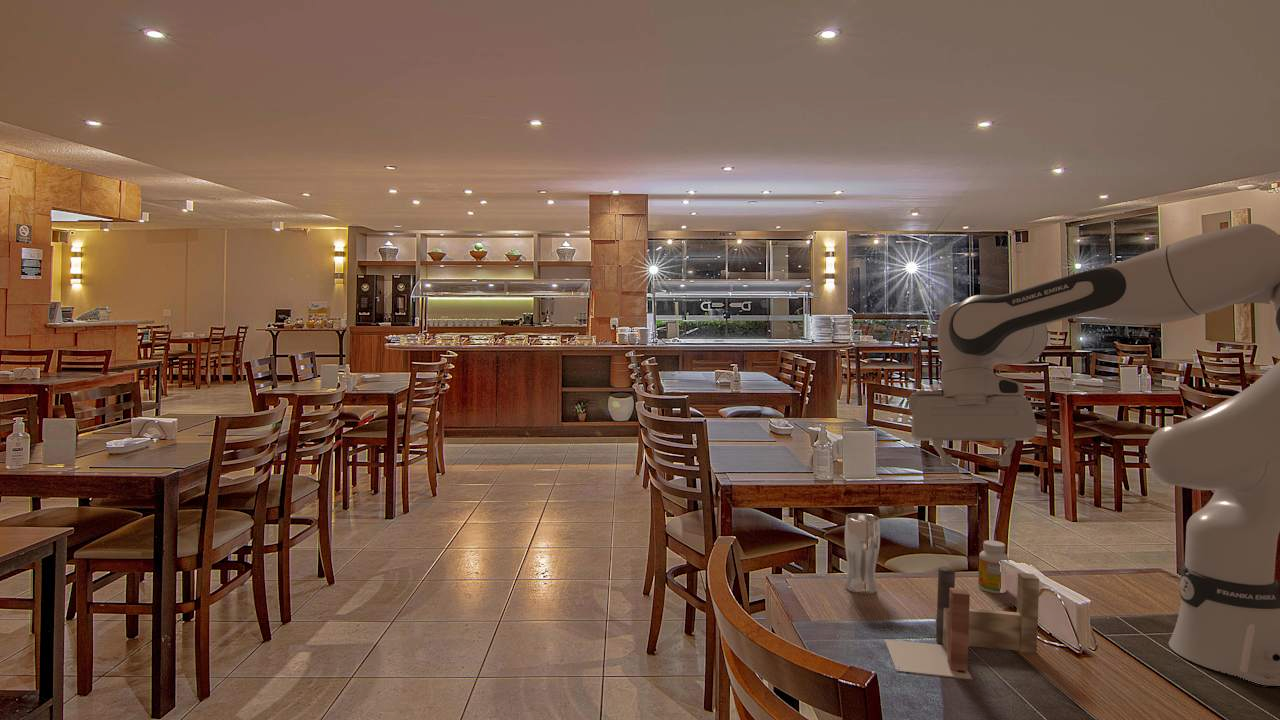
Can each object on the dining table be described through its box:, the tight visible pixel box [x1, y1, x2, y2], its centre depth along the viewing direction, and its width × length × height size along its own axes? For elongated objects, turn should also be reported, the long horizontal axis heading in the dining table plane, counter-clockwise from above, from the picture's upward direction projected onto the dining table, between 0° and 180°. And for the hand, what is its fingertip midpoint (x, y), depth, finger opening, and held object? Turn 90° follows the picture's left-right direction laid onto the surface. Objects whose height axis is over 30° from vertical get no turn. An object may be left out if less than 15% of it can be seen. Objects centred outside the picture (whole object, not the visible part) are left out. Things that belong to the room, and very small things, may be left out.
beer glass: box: [844, 512, 881, 595], centre depth 138 cm, size 7×7×15 cm
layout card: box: [884, 638, 973, 680], centre depth 109 cm, size 11×11×1 cm
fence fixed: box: [935, 566, 1040, 655], centre depth 113 cm, size 15×3×13 cm, turn 79°
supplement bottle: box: [977, 539, 1009, 594], centre depth 139 cm, size 5×5×10 cm
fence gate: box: [943, 587, 971, 671], centre depth 108 cm, size 9×2×12 cm, turn 166°
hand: (975, 465), depth 119 cm, fingers open, 8 cm apart
